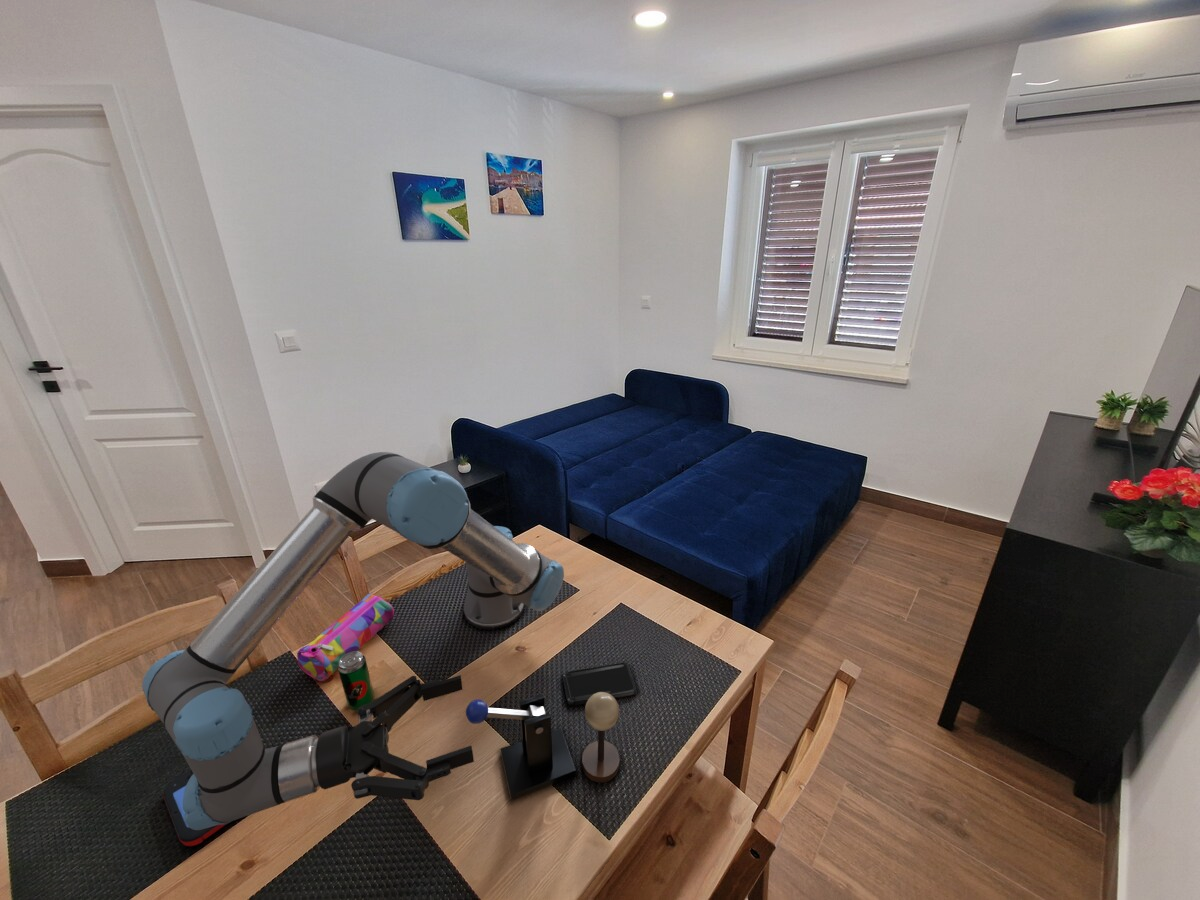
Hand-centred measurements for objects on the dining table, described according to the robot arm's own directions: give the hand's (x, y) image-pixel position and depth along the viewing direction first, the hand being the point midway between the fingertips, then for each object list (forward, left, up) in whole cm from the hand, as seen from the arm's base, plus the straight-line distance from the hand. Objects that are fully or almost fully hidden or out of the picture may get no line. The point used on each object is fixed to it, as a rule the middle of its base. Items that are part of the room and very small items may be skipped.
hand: (467, 715), depth 79 cm
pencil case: (-42, -23, -19) cm, 51 cm away
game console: (-15, -42, -19) cm, 48 cm away
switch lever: (0, +5, -4) cm, 7 cm away
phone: (-12, +28, -18) cm, 36 cm away
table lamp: (+4, +22, -18) cm, 29 cm away
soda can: (-26, -20, -19) cm, 38 cm away
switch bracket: (0, +11, -18) cm, 21 cm away
